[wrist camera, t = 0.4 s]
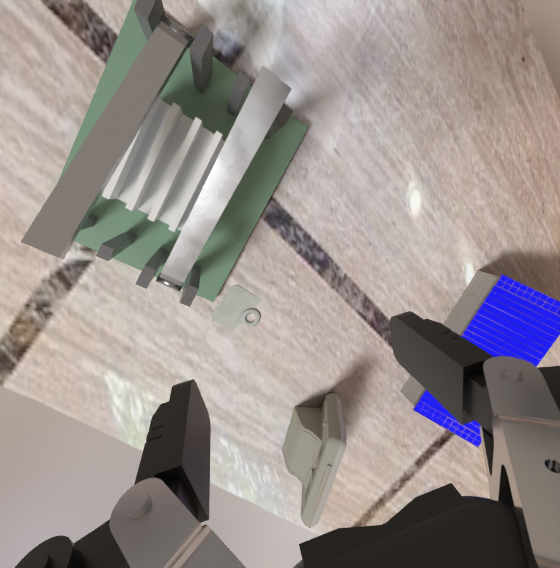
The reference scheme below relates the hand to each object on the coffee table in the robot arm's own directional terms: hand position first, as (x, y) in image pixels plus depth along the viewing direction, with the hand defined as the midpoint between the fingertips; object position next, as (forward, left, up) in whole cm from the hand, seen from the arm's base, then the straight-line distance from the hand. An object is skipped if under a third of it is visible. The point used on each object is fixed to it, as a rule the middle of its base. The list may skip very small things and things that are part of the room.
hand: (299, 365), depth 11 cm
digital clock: (+22, +26, -28) cm, 44 cm away
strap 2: (-3, -5, -16) cm, 18 cm away
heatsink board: (-4, -9, -28) cm, 29 cm away
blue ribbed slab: (-3, +46, -28) cm, 54 cm away
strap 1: (-4, -13, -16) cm, 22 cm away
